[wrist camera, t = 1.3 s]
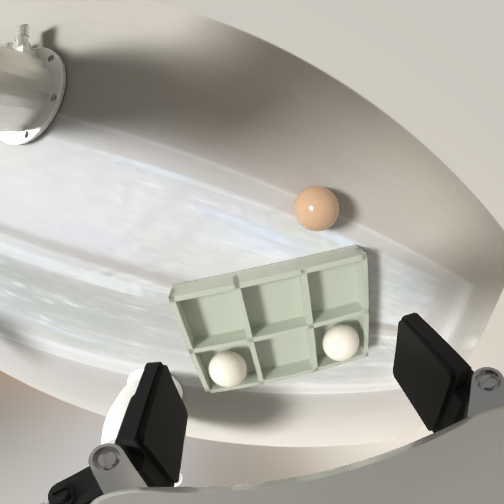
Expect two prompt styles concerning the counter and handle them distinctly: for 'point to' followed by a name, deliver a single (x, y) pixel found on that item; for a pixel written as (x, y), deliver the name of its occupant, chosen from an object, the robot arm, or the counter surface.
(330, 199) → the brown egg
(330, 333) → the cream egg
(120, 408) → the jar
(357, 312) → the egg tray
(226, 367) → the cream egg
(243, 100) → the counter surface
